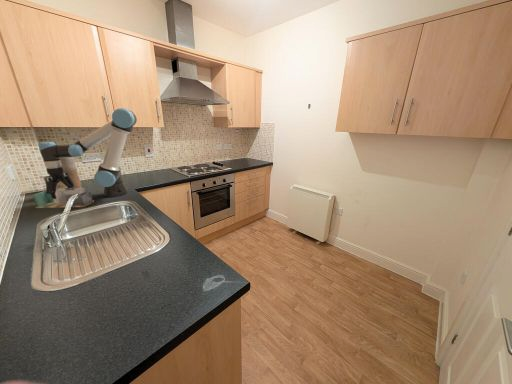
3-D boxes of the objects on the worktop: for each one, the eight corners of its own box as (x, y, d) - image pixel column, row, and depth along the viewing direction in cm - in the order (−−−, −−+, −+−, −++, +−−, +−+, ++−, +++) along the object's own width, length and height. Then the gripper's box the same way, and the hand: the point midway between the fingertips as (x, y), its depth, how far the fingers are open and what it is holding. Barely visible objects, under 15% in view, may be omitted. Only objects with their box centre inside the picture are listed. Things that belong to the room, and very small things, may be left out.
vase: (80, 185, 174) (71, 153, 165) (83, 188, 168) (73, 155, 159) (65, 188, 167) (54, 155, 158) (67, 190, 161) (56, 156, 152)
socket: (56, 201, 138) (52, 190, 135) (45, 206, 130) (40, 194, 127) (48, 201, 137) (44, 190, 135) (36, 206, 129) (32, 195, 127)
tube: (89, 201, 137) (85, 187, 134) (83, 204, 133) (79, 190, 129) (62, 202, 136) (57, 188, 133) (55, 205, 131) (50, 190, 128)
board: (94, 201, 140) (94, 200, 140) (84, 206, 131) (84, 206, 130) (49, 202, 138) (49, 201, 138) (35, 208, 129) (34, 207, 128)
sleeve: (92, 201, 139) (90, 191, 137) (84, 205, 131) (81, 195, 129) (77, 201, 138) (74, 191, 136) (68, 205, 131) (65, 195, 128)
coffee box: (56, 198, 144) (49, 177, 139) (49, 198, 146) (42, 176, 140) (70, 194, 153) (63, 174, 148) (63, 194, 154) (56, 173, 149)
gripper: (63, 163, 137) (72, 194, 144) (29, 171, 115) (42, 206, 122) (74, 163, 137) (83, 193, 144) (43, 171, 115) (55, 206, 123)
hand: (64, 199), depth 133 cm, fingers open, 11 cm apart
